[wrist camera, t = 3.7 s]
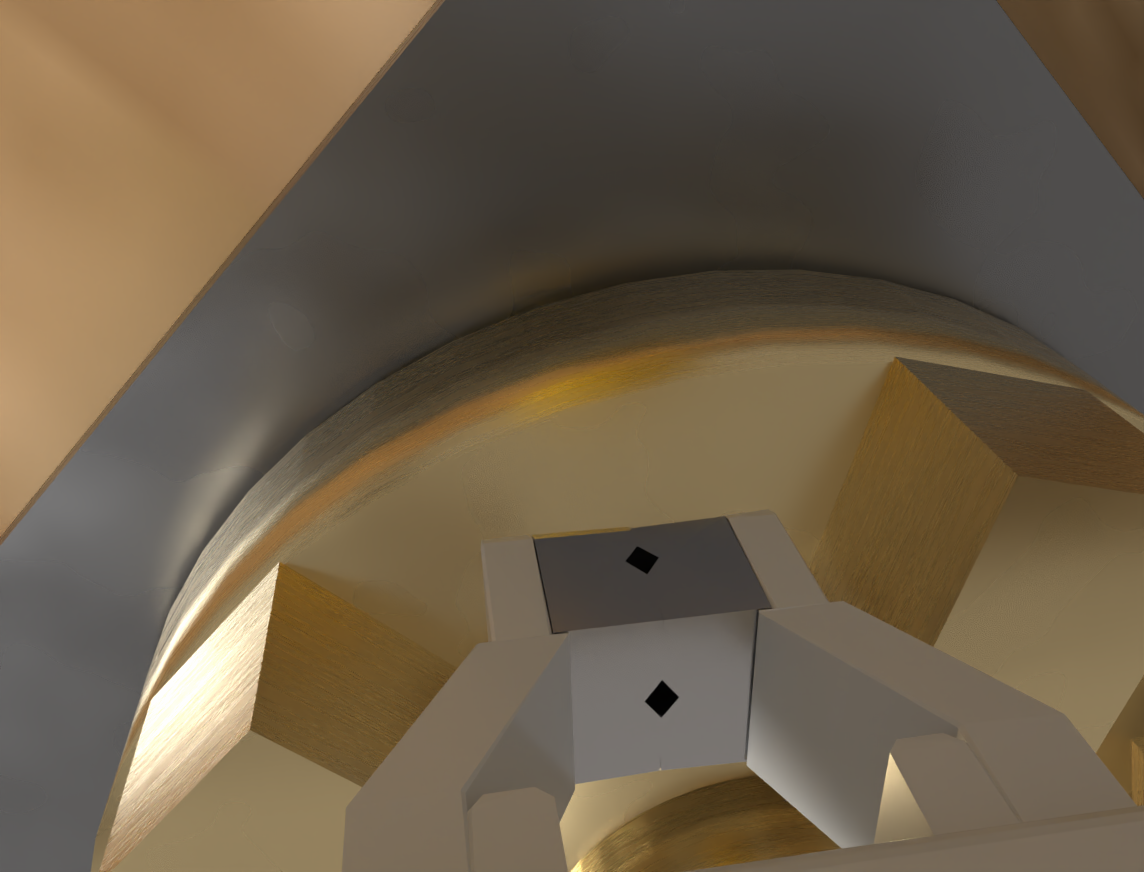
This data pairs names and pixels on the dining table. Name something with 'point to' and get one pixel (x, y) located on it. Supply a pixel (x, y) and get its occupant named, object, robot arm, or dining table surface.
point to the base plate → (544, 278)
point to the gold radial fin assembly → (632, 499)
